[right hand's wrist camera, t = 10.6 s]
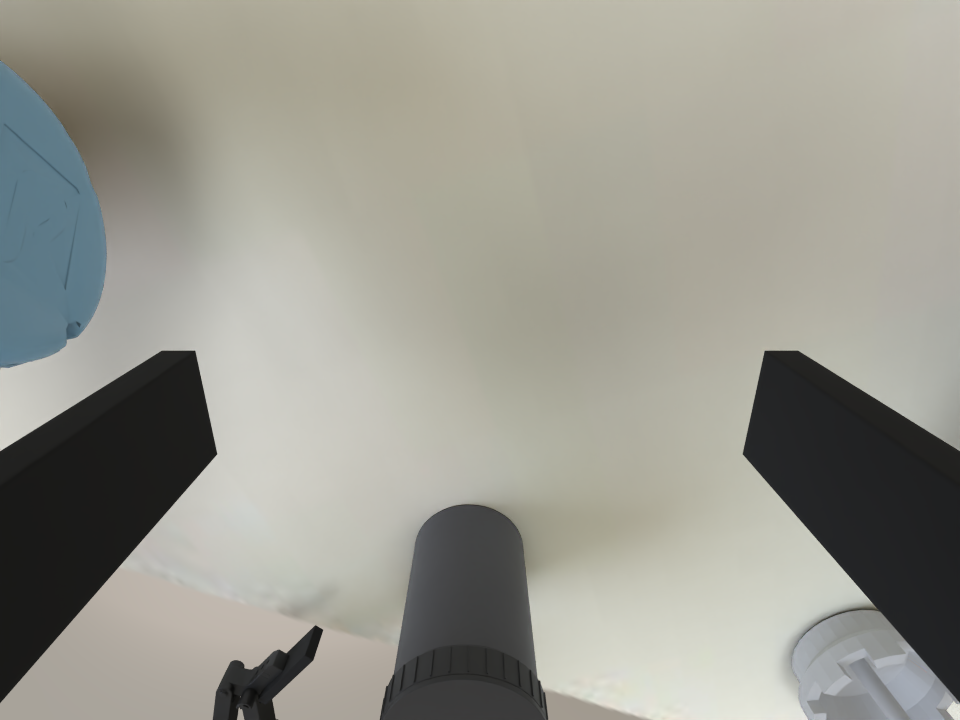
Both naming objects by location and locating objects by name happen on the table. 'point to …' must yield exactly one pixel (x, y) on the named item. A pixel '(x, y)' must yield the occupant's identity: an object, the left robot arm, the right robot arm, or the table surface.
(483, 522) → the jar
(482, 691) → the lid
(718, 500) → the table surface
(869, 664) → the flag stand
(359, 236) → the table surface
